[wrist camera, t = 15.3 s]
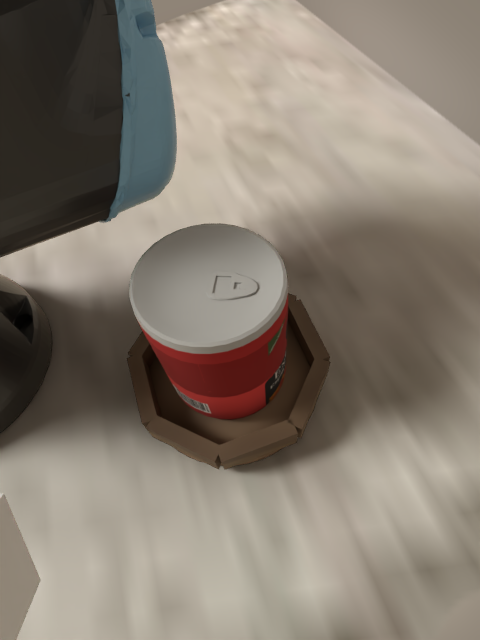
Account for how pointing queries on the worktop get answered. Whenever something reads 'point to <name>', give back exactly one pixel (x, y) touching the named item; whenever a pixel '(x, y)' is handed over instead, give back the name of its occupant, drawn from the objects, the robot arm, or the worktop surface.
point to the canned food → (215, 316)
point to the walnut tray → (243, 433)
